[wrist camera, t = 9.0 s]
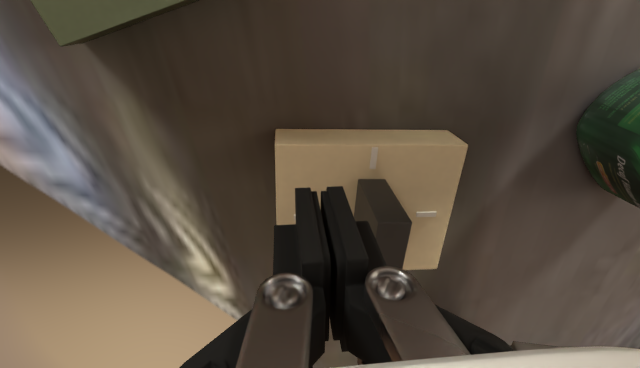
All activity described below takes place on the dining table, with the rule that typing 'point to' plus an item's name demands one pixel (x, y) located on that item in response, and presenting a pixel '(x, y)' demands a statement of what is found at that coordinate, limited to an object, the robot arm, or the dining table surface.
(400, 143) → the panel
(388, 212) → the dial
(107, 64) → the dining table surface
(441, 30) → the dining table surface
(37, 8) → the button housing
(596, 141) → the coffee jar
